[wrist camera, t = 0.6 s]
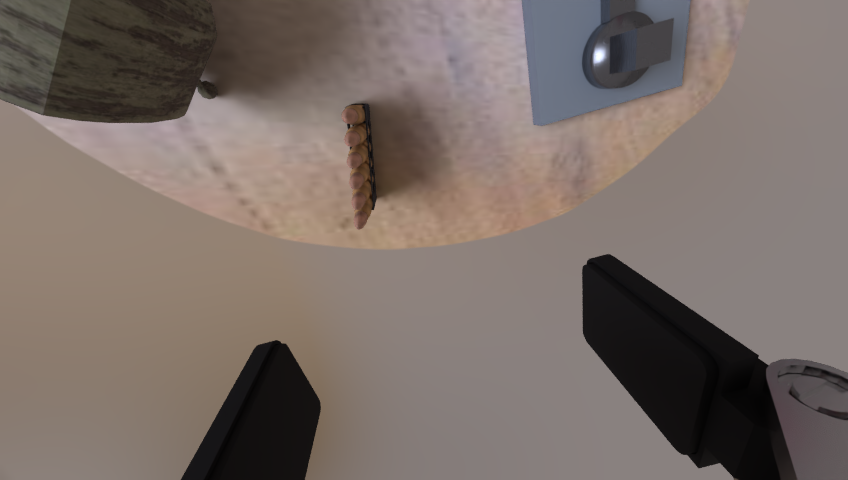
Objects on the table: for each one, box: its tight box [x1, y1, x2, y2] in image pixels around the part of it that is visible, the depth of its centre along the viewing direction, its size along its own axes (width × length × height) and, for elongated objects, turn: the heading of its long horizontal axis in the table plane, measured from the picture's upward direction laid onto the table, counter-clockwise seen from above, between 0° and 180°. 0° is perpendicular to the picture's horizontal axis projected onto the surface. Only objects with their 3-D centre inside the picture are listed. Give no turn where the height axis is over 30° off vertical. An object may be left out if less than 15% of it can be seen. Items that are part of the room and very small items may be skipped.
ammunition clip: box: [342, 104, 376, 229], centre depth 29 cm, size 11×2×12 cm, turn 1°
